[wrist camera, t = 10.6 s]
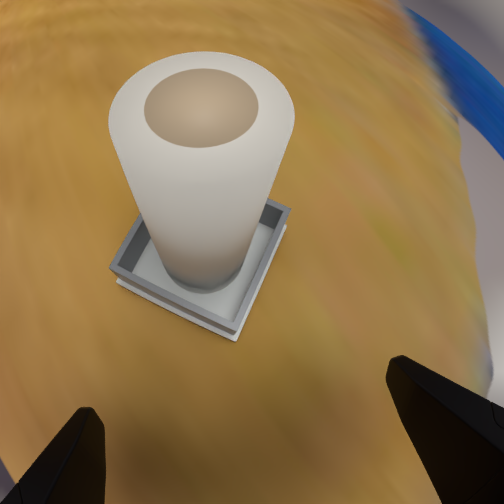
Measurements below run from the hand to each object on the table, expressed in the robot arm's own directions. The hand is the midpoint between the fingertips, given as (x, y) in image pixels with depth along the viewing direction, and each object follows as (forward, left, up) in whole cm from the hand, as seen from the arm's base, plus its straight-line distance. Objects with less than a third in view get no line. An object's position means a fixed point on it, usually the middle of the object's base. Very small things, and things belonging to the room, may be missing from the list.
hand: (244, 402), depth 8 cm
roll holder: (+7, +5, -12) cm, 15 cm away
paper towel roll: (+7, +5, -12) cm, 15 cm away
